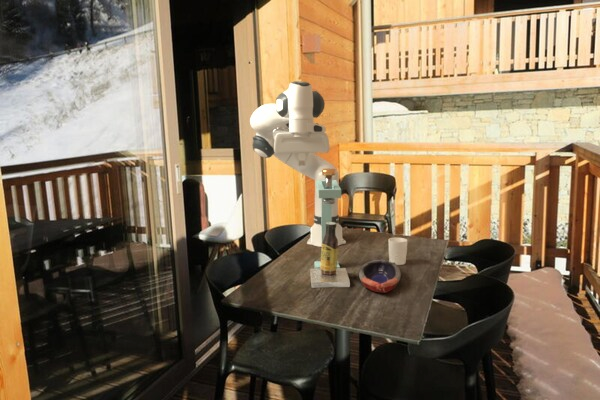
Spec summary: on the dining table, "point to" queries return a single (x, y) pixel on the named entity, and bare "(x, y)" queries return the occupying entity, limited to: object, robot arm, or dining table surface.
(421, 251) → the dining table surface
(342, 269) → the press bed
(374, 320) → the dining table surface
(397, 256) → the white cup
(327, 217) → the press frame
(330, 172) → the ram
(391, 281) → the dish
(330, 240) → the sauce bottle
